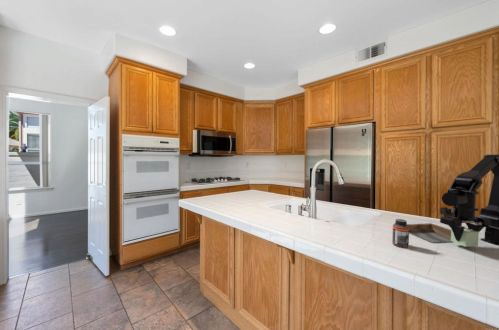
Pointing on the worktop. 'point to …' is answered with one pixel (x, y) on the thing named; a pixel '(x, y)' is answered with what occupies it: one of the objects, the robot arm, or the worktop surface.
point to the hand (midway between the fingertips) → (464, 240)
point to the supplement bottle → (400, 233)
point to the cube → (467, 238)
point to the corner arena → (430, 232)
